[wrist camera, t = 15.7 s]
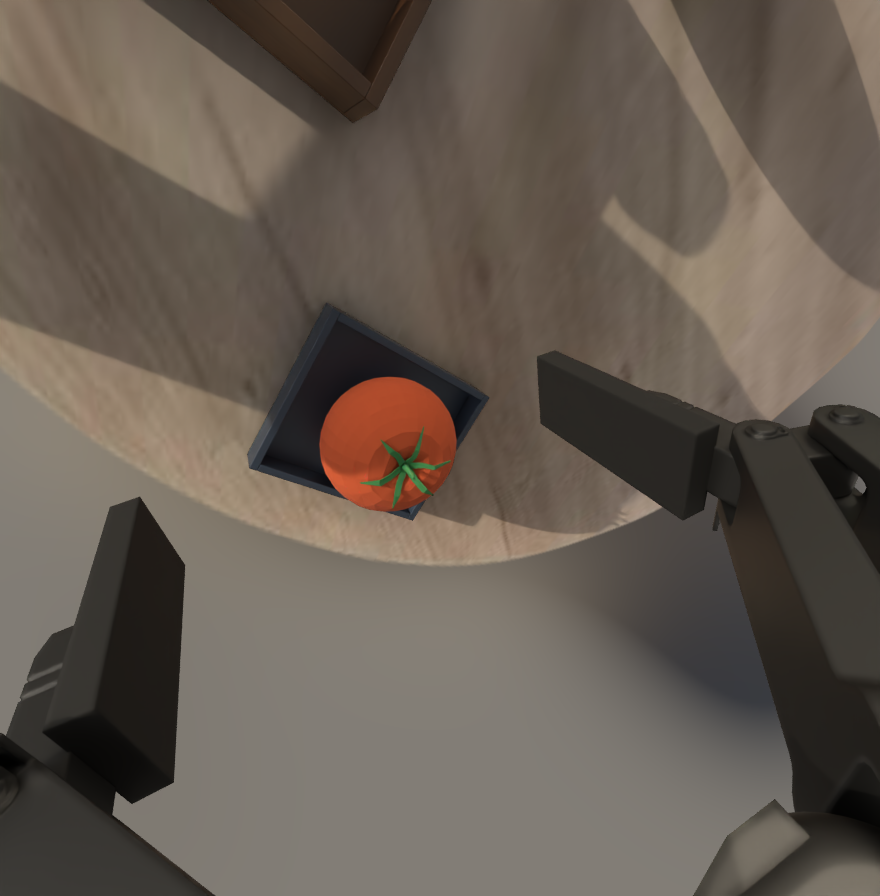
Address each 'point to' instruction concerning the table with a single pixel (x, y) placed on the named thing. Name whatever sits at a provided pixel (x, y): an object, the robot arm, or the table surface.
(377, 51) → the open wooden box
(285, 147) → the table surface
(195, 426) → the table surface
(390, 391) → the tomato
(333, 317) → the tray
